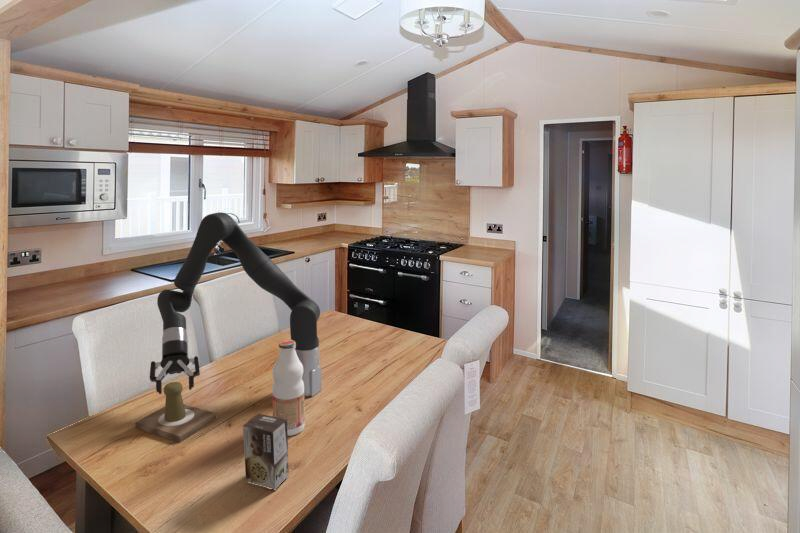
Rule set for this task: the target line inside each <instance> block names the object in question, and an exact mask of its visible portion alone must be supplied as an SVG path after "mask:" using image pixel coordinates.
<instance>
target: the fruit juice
mask: <svg viewBox="0 0 800 533" xmlns="http://www.w3.org/2000/svg"><path fill="white" fill-rule="evenodd" d="M278 348H279V353H278V357H277V359H276V362H275V363H274V364H273V367H272V370H271V371H272V373H271V374H272V377H273V383H272V388H271V391H272V392H271V393H272V417H277V418H282V419H287V434H288V437H291V436H294V435H295V436H296V435H298V434H300V433H301V432H302V431H303V430H304V429H305V425H306V424H305V423H306V421H305V420H306V417H305V414H306V413H305V409H306V408H305V397H304V382H303V380H302V376H303V371H304V370H303V365H302V363H301V362H300V360H299V358H298V356H297V353H296V351H295V348H296V342H295V341H294V340H291V339H284V340H281V341H280V342H278Z"/></svg>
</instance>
